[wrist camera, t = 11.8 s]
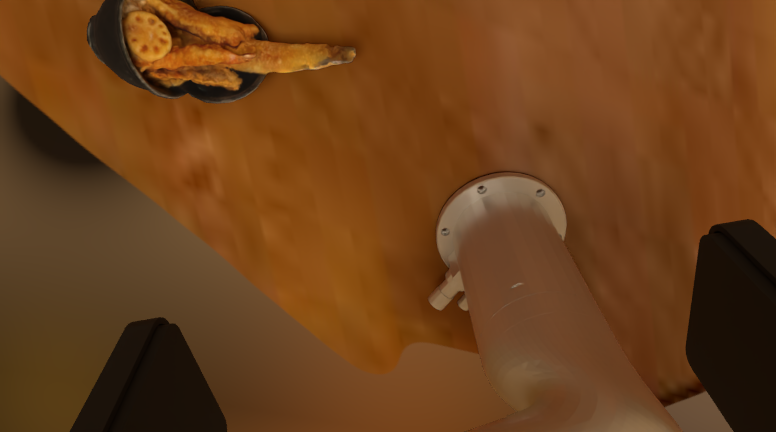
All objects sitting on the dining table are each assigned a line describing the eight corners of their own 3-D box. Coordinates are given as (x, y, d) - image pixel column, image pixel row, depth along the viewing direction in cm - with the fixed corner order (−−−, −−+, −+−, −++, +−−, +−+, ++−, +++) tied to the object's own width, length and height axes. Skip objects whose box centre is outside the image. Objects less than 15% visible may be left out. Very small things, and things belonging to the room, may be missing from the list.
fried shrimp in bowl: (45, -39, 37) (287, -70, 31) (161, -4, 47) (358, -22, 42) (59, 102, 39) (292, 96, 33) (168, 106, 49) (359, 103, 43)
